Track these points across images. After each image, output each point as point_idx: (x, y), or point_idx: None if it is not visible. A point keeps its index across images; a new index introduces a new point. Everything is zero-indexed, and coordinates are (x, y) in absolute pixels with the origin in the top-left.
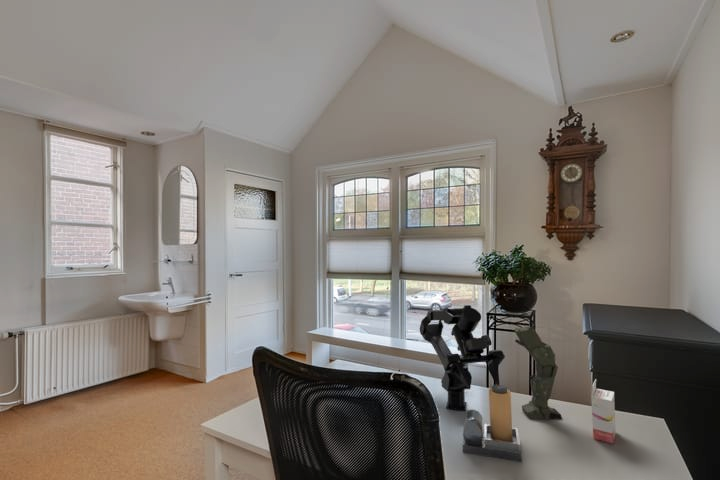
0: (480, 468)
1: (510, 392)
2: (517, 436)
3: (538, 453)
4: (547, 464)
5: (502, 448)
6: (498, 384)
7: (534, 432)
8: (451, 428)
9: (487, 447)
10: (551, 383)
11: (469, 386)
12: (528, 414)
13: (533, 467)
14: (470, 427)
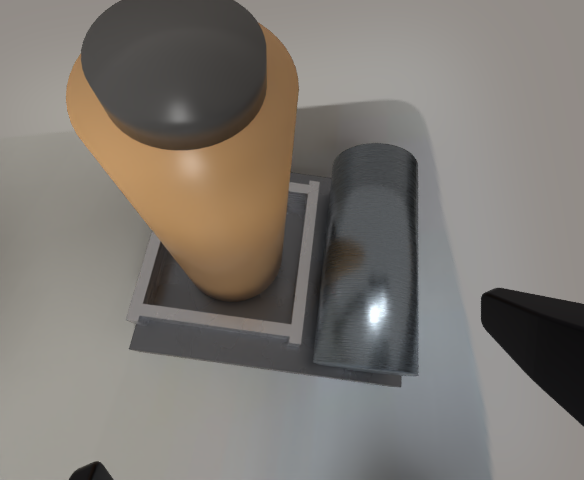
0: (336, 125)
1: (78, 59)
2: None
3: (100, 236)
4: (101, 170)
5: None
6: (97, 462)
7: (19, 440)
8: (458, 405)
9: (306, 181)
10: None
11: (502, 290)
12: None
13: None
14: (393, 148)
